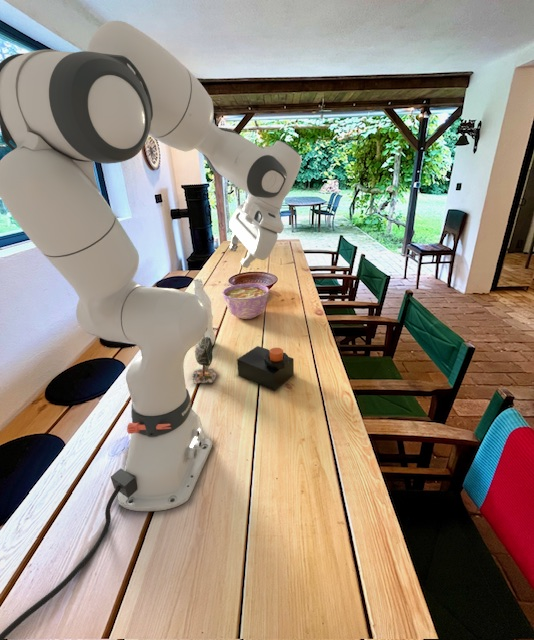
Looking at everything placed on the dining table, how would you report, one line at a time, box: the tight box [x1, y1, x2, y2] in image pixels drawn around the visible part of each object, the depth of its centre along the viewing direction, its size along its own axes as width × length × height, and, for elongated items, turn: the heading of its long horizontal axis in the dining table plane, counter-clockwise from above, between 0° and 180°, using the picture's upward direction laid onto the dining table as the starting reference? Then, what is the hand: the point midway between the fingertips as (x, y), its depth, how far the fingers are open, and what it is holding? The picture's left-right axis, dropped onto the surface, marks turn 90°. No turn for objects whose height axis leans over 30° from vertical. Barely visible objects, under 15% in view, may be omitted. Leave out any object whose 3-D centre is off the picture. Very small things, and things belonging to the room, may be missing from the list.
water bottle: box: [192, 278, 216, 347], centre depth 114 cm, size 7×7×25 cm
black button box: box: [236, 345, 295, 392], centre depth 98 cm, size 15×10×8 cm
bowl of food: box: [222, 283, 270, 320], centre depth 140 cm, size 20×20×12 cm
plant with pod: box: [191, 329, 218, 385], centre depth 97 cm, size 8×11×20 cm
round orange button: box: [269, 347, 284, 362], centre depth 93 cm, size 4×4×2 cm
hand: (237, 257), depth 88 cm, fingers open, 8 cm apart
